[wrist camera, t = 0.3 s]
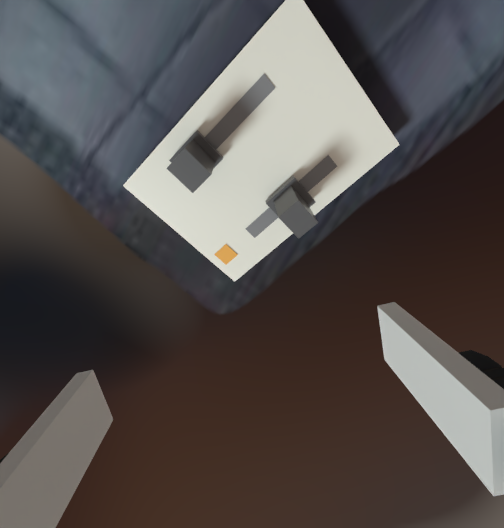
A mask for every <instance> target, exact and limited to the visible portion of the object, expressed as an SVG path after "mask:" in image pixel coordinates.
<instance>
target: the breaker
mask: <svg viewBox="0 0 504 528" xmlns="http://www.w3.org/2000/svg"><path fill="white" fill-rule="evenodd" d="M222 160H223V156H222V155H221V154H220V153H219V152H218V151H217V150H216V149H215V147H214V146H213V145H212V144H211V143H210V142H209V141H208V140H207V139H206V138H205V137H204V136H203V135H202V134H201V133H200V132H199V131H198V130H196V131H195V132H194V134H193V135H192V136H191V137H190V138H189V139H188V140H187V141H186V142H185V143H184V145H183V146H182V147H181V148H180V149H179V150H178V151H177V152H176V153H175V154H174V156H173V157H172V158H171V159H170V160H169V161H170V162H171V164H170V165H169V166H168V167H167V168H166V169H168V170H169V171H170V172H171V173H172V174H173V175H174V176H175V177H176V178H177V179H178V180H179V181H180V182H181V183H182V184H183V185H185V186H186V187H187V188H188V189H189V190H190V191H191V192H192V193H194V192H195V191H196V190H197V189H198V188H199V187H200V186H201V185H202V184H203V183H204V182H205V181H206V179H207V178H208V177H209V176H210V175H211V174H212V171H213V169H214V168H215V167H216V166H217V165H218V164H219V163H220V162H221V161H222Z"/></svg>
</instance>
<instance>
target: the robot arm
mask: <svg viewBox="0 0 504 528" xmlns="http://www.w3.org/2000/svg"><path fill="white" fill-rule="evenodd" d="M378 314H379V321H380V329H381V336H382V344H383V351H384V359H385V360H386V362H387V363H388V364H389V366H390V367H391V368H392V369H393V371H394V372H395V373H396V374H397V376H398V377H399V378H400V379H401V381H402V382H403V383H404V384H405V386H406V387H407V388H408V389H409V391H410V392H411V393H412V395H413V396H414V397H415V398H416V399H417V401H418V402H419V403H420V405H421V406H422V407H423V408H424V409H425V411H426V412H427V413H428V415H429V416H430V417H431V418H432V419H433V421H434V422H435V423H436V425H437V426H438V427H439V428H440V429H441V431H442V432H443V433H444V435H445V436H446V437H447V438H448V439H449V441H450V442H451V443H452V444H453V446H454V447H455V448H456V450H457V451H458V452H459V453H460V455H461V456H462V457H463V458H464V460H465V461H466V462H467V463H468V465H469V466H470V467H471V468H472V469H473V471H474V472H475V473H476V475H477V476H478V477H479V478H480V480H481V481H482V482H483V483H484V485H485V486H486V487H487V488H488V490H489V491H490V492H491V493H492V495H493V496H498V495H502V494H504V368H502V367H501V366H500V365H499V364H498V363H496V362H495V361H494V360H492V359H491V358H489V357H488V356H485V355H482V354H480V353H477V352H475V351H472V350H469V351H465V352H460V353H457V352H456V351H455V350H454V349H453V348H451V347H450V346H449V345H447V344H446V343H445V342H444V341H442V340H441V339H440V338H439V337H438V336H436V335H435V334H434V333H433V332H431V331H430V330H429V329H427V328H426V327H425V326H424V325H422V324H421V323H420V322H419V321H417V320H416V319H415V318H414V317H412V316H411V315H410V314H408V313H407V312H406V311H405V310H403V309H402V308H401V307H400V306H398V305H397V304H396V303H395V302H393V303H389V304H384V305H379V306H378ZM112 421H113V418H112V415H111V413H110V410H109V408H108V406H107V403H106V401H105V398H104V396H103V393H102V391H101V388H100V386H99V384H98V381H97V379H96V376H95V374H94V371H93V370H90V371H85V372H81V373H77V374H76V375H75V376H74V377H73V378H72V380H71V381H70V382H69V383H68V384H67V386H66V387H65V388H64V389H63V390H62V392H61V393H60V394H59V395H58V396H57V397H56V398H55V400H54V401H53V402H52V403H51V404H50V406H49V407H48V408H47V409H46V410H45V411H44V413H43V414H42V415H41V416H40V417H39V419H38V420H37V421H36V422H35V423H34V424H33V426H32V427H31V428H30V429H29V430H28V431H27V433H26V434H25V435H24V436H23V437H22V439H21V440H20V441H19V442H18V443H17V444H16V446H15V447H14V448H13V449H12V450H11V451H10V452H9V453H8V454H7V455H6V456H4V457H3V458H2V459H1V460H0V528H55V527H56V526H57V524H58V522H59V520H60V518H61V516H62V514H63V512H64V510H65V509H66V507H67V505H68V503H69V501H70V499H71V497H72V495H73V494H74V492H75V490H76V488H77V486H78V484H79V482H80V481H81V479H82V477H83V475H84V473H85V471H86V469H87V467H88V466H89V464H90V462H91V460H92V458H93V456H94V454H95V453H96V451H97V449H98V447H99V445H100V443H101V441H102V439H103V437H104V436H105V434H106V431H107V430H108V428H109V426H110V424H111V422H112Z"/></svg>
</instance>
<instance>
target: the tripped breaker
mask: <svg viewBox="0 0 504 528" xmlns="http://www.w3.org/2000/svg"><path fill="white" fill-rule="evenodd" d="M315 202H316V201H315V200H314V199H313V197H312V196H311V195H310V194H309V193H308V192H307V191H306V189H305V188H304V187H303V186H302V185H301V184H300V183H299V181H298V180H297V179H296V178H295V177H294V176H292V177H291V178H290V179H289V180H288V181H287V182H285V183H284V184H283V185H282V186H281V187H280V188H279V189H278V190H277V191H275V192H274V193H273V194H272V195H271V196H270V197H269V198H268V199H267V200H266V204H267V205H268V206H269V207H270V208H271V209H272V210H273V211H274V213H275V214H276V215H277V216H278V218H279V219H280V220H281V221H282V222H283V223H284V224H285V225H286V226H287V227H288V228H289V229H290V230H291V231H292V232H293V233H294V234H295V235H296V236H297V237H298V239H299V238H300V237H301V236H302V235H303V234H305V233H306V232H307V231H308V230H310V229H311V228H312V227H313V226H314V225H316V224H317V223H318V221H317V219H316V218H315V216H314V214H313V212H312V211H311V209H310V207H311V206H312V205H313V204H314V203H315Z"/></svg>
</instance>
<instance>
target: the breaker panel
mask: <svg viewBox="0 0 504 528" xmlns="http://www.w3.org/2000/svg"><path fill="white" fill-rule="evenodd" d="M196 130H198V131H199V132H200V133H201V134H202V135H203V136H204V137H205V138H206V139H207V140H208V141H209V142H210V143H211V144H212V145H213V146H214V147H215V149H216V150H217V151H218V152H219V153H220V154H221V155H222V156H223V160H222V161H221V162H220V163H219V164H218V165H217V166H216V167H215V168H214V169H213V171H212V174H211V175H210V176H209V177H208V178H207V179H206V181H205V182H204V183H203V184H202V185H201V186H200V187H199V188H198V189H197V190H196V191H195V192H194V193H192V192H191V191H190V190H189V189H188V188H187V187H186V186H185V185H183V184H182V183H181V182H180V181H179V180H178V179H177V178H176V177H175V176H174V175H173V174H172V173H171V172H170V171H169V170H168V169H166V168H167V167H168V166H169V165H170V164H171V162H170V161H169V160H170V159H171V158H172V157H173V156H174V154H175V153H176V152H177V151H178V150H179V149H180V148H181V147H182V146H183V145H184V143H185V142H186V141H187V140H188V139H189V138H190V137H191V136H192V135H193V134H194V132H195V131H196ZM398 145H399V143H398V142H397V140H396V139H395V137H394V136H393V134H392V133H391V131H390V130H389V128H388V127H387V125H386V124H385V122H384V121H383V119H382V118H381V116H380V115H379V113H378V112H377V110H376V109H375V107H374V106H373V104H372V103H371V101H370V100H369V98H368V97H367V95H366V94H365V92H364V91H363V89H362V88H361V86H360V85H359V83H358V82H357V80H356V79H355V77H354V76H353V74H352V73H351V71H350V70H349V68H348V67H347V65H346V64H345V62H344V61H343V59H342V58H341V56H340V55H339V53H338V52H337V50H336V49H335V47H334V46H333V44H332V43H331V41H330V40H329V38H328V37H327V35H326V34H325V32H324V31H323V29H322V28H321V26H320V25H319V23H318V22H317V20H316V19H315V17H314V16H313V14H312V13H311V11H310V10H309V8H308V7H307V5H306V4H305V2H304V1H303V0H285V1H284V3H283V4H282V5H281V6H280V7H279V8H278V9H277V11H276V12H275V13H274V14H273V15H272V16H271V17H270V19H269V20H268V21H267V22H266V23H265V24H264V25H263V27H262V28H261V29H260V30H259V31H258V32H257V33H256V35H255V36H254V37H253V38H252V39H251V40H250V41H249V43H248V44H247V45H246V46H245V47H244V48H243V49H242V51H241V52H240V53H239V54H238V55H237V56H236V57H235V59H234V60H233V61H232V62H231V63H230V64H229V65H228V66H227V68H226V69H225V70H224V71H223V72H222V73H221V74H220V76H219V77H218V78H217V79H216V80H215V81H214V82H213V84H212V85H211V86H210V87H209V88H208V89H207V90H206V92H205V93H204V94H203V95H202V96H201V97H200V98H199V100H198V101H197V102H196V103H195V104H194V105H193V106H192V108H191V109H190V110H189V111H188V112H187V113H186V114H185V116H184V117H183V118H182V119H181V120H180V121H179V122H178V124H177V125H176V126H175V127H174V128H173V129H172V130H171V131H170V133H169V134H168V135H167V136H166V137H165V138H164V139H163V141H162V142H161V143H160V144H159V145H158V146H157V147H156V149H155V150H154V151H153V152H152V153H151V154H150V155H149V157H148V158H147V159H146V160H145V161H144V162H143V163H142V165H141V166H140V167H139V168H138V169H137V170H136V171H135V173H134V174H133V175H132V176H131V177H130V178H129V179H128V181H127V182H126V183H125V184H124V185H123V186H124V187H125V188H126V189H127V190H128V191H130V192H131V193H132V194H133V195H134V196H135V197H137V198H138V199H139V200H140V201H141V202H142V203H144V204H145V205H146V206H147V207H148V208H149V209H151V210H152V211H153V212H154V213H155V214H156V215H158V216H159V217H160V218H161V219H162V220H163V221H165V222H166V223H167V224H168V225H169V226H170V227H172V228H173V229H174V230H175V231H176V232H177V233H179V234H180V235H181V236H182V237H183V238H184V239H186V240H187V241H188V242H189V243H190V244H191V245H193V246H194V247H195V248H196V249H197V250H198V251H200V252H201V253H202V254H203V255H204V256H205V257H207V258H208V259H209V260H210V261H211V262H212V263H214V264H215V265H216V266H217V267H218V268H219V269H221V270H222V271H223V272H224V273H225V274H226V275H228V276H229V277H230V278H231V279H232V280H233V281H236V280H237V279H238V278H240V277H241V276H242V275H243V274H244V273H246V272H247V271H248V270H249V269H250V268H252V267H253V266H254V265H255V264H256V263H258V262H259V261H260V260H261V259H262V258H264V257H265V256H266V255H267V254H269V253H270V252H271V251H272V250H273V249H275V248H276V247H277V246H278V245H279V244H281V243H282V242H283V241H284V240H285V239H287V238H288V237H289V236H290V235H291V234H293V232H292V231H291V230H290V229H289V228H288V227H287V226H286V225H285V224H284V223H283V222H282V221H281V220H280V219H279V218H278V216H277V215H276V214H275V213H274V211H273V210H272V209H271V208H270V207H269V206H268V205H267V204H266V200H267V199H268V198H269V197H270V196H271V195H272V194H273V193H274V192H275V191H277V190H278V189H279V188H280V187H281V186H282V185H283V184H284V183H285V182H287V181H288V180H289V179H290V178H291V177H292V176H294V177H295V178H296V179H297V180H298V181H299V183H300V184H301V185H302V186H303V187H304V188H305V189H306V191H307V192H308V193H309V194H310V195H311V196H312V197H313V199H314V200H315V201H316V202H315V203H314V204H313V205H312V206H311V207H310V209H311V211H312V212H313V214H314V215H315V214H317V213H318V212H319V211H320V210H321V209H323V208H324V207H325V206H326V205H327V204H329V203H330V202H331V201H332V200H333V199H335V198H336V197H337V196H338V195H339V194H341V193H342V192H343V191H344V190H345V189H347V188H348V187H349V186H350V185H351V184H353V183H354V182H355V181H356V180H358V179H359V178H360V177H361V176H362V175H364V174H365V173H366V172H367V171H368V170H370V169H371V168H372V167H373V166H374V165H376V164H377V163H378V162H379V161H380V160H382V159H383V158H384V157H385V156H386V155H388V154H389V153H390V152H391V151H392V150H394V149H395V148H396V147H397V146H398Z"/></svg>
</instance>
